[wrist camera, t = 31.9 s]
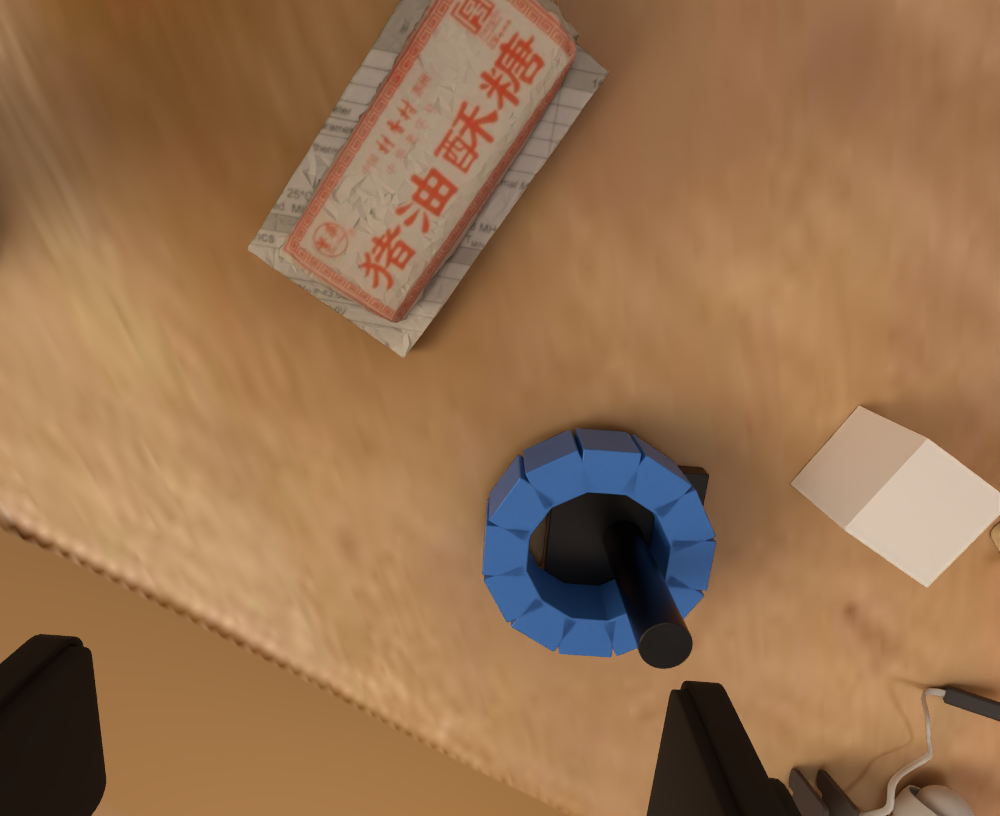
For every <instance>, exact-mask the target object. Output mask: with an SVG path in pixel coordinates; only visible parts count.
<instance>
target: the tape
mask: <svg viewBox="0 0 1000 816" xmlns="http://www.w3.org/2000/svg"><path fill="white" fill-rule="evenodd" d="M523 455H524V457H522V456H521V455H517V457H516V458H515V459H514V461H513V462H512V463H511V465H510V466H509V468H508V469H507V470H506V472H505V473H504V474H503V476H502V477H501V478H500V480H499V481H498V483H497V484H496V485H495V487H494V488H493V489H492V491H491V492H490V498H488V499H487V511H486V524H485V537H484V553H483V571H482V574H483V575H484V582H485V584H486V585H487V587H488V589H489V591H490V593H491V595H492V596H493V598H494V600H495V602H496V604H497V605H498V607H499V609H500V611H501V613H502V615H503V616H504V618H505V620H506V622H510V621H511V626H512V627H513V628H514V629H516V630H518V631H519V632H521V633H523V634H525V635H526V636H528V637H530V638H531V639H533V640H535V641H536V642H538V643H540V644H541V645H543V646H545V647H546V648H548V649H550V650H551V651H555V650H556V649H557V647H558V649H559V654H569V655H584V656H599V657H611V656H612V649H613V650H614V652H615V654H616V655H617V656H618V655H621V654H624V653H626V652H629V651H631V650H634V649H636V648H638V647H637V644H636V641H635V638H634V635H633V632H632V629H631V626H630V623H629V620H628V617H627V614H626V611H625V608H624V605H623V602H622V599H621V596H620V593H619V590H618V587H617V584H616V581H615V579H614V580H612V581H609V582H607V583H604V584H602V585H600V586H596V585H582V584H567V583H564V582H562V581H560V580H559V579H557V578H555V577H554V576H552V575H551V574H549V573H547V572H546V571H544V570H543V569H541V568H539V567H538V565H537V563H536V561H535V559H534V557H533V555H532V553H531V551H530V550H529V542H530V535H531V534H532V533H533V532H534V530H535V529H536V528H537V526H538V525H539V524H540V523H541V521H542V520H543V519H544V517H545V516H546V515H547V513H548V512H549V511H550V510H551V508H552V507H555V506H557V505H559V504H561V503H564V502H566V501H568V500H571V499H573V498H575V497H578V496H580V495H582V494H584V493H587V492H591V493H605V494H619V495H627V496H628V497H630V498H631V499H633V500H634V501H636V502H638V503H639V504H641V505H642V506H644V507H645V508H647V509H648V510H650V511H651V512H653V515H654V517H655V519H654V526H653V532H652V538H651V545H650V550H651V553H652V555H653V557H654V559H655V561H656V563H657V565H658V567H659V569H660V572H661V574H662V576H663V578H664V580H665V582H666V584H667V586H668V588H669V591H670V593H671V595H672V597H673V599H674V601H675V603H676V605H677V607H678V609H679V612H680V614H681V616H682V618H683V619H684V618H685V617H686V616H687V614H688V613H689V612H690V611H691V610H692V609H693V608H694V606H695V605H696V604H697V603H698V602H699V601H700V600H701V599H702V597H703V596H704V594H703V593H702V591H701V590H707V587H708V582H709V576H710V571H711V566H712V561H713V555H714V550H715V545H716V541H715V540H714V538H713V537H715V533H714V531H713V529H712V526H711V524H710V522H709V519H708V517H707V515H706V512H705V510H704V508H703V505H702V503H701V500H700V498H699V496H698V493H697V491H696V489H695V488H694V487H693V486H692V484H691V483H690V482H689V480H688V479H687V478H686V476H685V475H684V474H683V472H682V471H681V470H680V469H679V467H678V466H677V465H676V464H675V463H674V461H672V460H671V459H670V458H668V457H667V456H665V455H664V454H662V453H661V452H659V451H658V450H656V449H655V448H653V447H652V446H650V445H649V444H647V443H646V442H644V441H643V440H641V439H640V438H639V437H637V436H636V435H634V434H633V435H632V436H631V437H630V435H629V434H628V432H621V431H607V430H593V429H580V428H576V430H575V438H574V436H573V434H572V432H571V430H567V431H565V432H563V433H561V434H559V435H556V436H554V437H552V438H550V439H547V440H545V441H543V442H541V443H539V444H536V445H534V446H532V447H530V448H527V449H525V450H524V451H523Z"/></svg>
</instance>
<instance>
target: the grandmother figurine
mask: <svg viewBox="0 0 1000 816" xmlns="http://www.w3.org/2000/svg"><path fill="white" fill-rule="evenodd" d="M991 538H992V540H993V542H994V543H995V545H996V547H997V549H998V550H999V552H1000V523H998V524H997V525H996V526H995V527H994V528H993V529H992V531H991Z"/></svg>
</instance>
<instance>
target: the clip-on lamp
mask: <svg viewBox="0 0 1000 816" xmlns="http://www.w3.org/2000/svg"><path fill="white" fill-rule="evenodd" d="M926 695H937V696H941V697H943V700H944V702H945V703H947V704H950V705H953V706H956V707H959V708H962V709H964V710H967V711H970V712H973V713H976V714H979V715H982V716H985V717H988V718H991V719H994V720H997V721H1000V702H997V701H994V700H991V699H988V698H985V697H982V696H979V695H976V694H973V693H970V692H967V691H964V690H961V689H958V688H954V687H951V686H946V688H945V690H942V689H938V688H927V689H926V690H924V691H923V693H922V697H921V701H922V707H923V711H924V716H925V726H926V739H927V743H928V747H929V749H928V751H927V752H926V753H925V754H923V755H922V756H920V757H919V758H917V759H915V760H914V761H912V762H910V763H909V764H907V765H905V766H904V767H902V768H901V769H900V770H898V771H897V772H896V773H895V774H894V775H893V776H892V777H891V779H890V780H889V783H888V786H887V802H886V804H885V806H884V807H882V808H880V809H876V810H871V811H865V812H861V813H859V810H858V808H857V807H856V805H855V804H854V803H853V802H852V801H851V800H850V799H849V797H848V796H847V795H846V794H845V793H844V792H843V790H842V789H841V788H840V787H839V786H838V785H837V783H836V782H835V781H834V780H833V779H832V778H831V776H830V775H829V774H828V773H827V772H826V771H819V772H818V777H817V787H818V789H819V790H820V792H821V793H822V799H821V798H820V796H819V795H818V794H817V793H816V791H815V790H814V789H813V787H812V786H811V785H810V784H809V782H808V781H807V780H806V779H805V777H804V776H803V775H802V774H801V772H800V771H798V770H794V769H793V770H792V771H791V774H790V778H789V787H790V789H791V790H792V791H793V796H792V798H793V800H794V802H795V804H796V806H797V808H798V810H799V811H800V813H801V815H802V816H886V815H888V814H890V813H891V812H892V810H893V816H975V815H974V812H973V810H972V808H971V807H970V805H969V804H968V802H967V801H966V800H965V799H964V798H963V797H962V796H961V795H960V794H958V793H957V792H956V791H954V790H952V789H950V788H948V787H945V786H941V785H929V786H926V787H924V788H922V789H921V788H919V787H916V786H913V785H908V786H907V787H905V788H904V789H903V790H902V791H901V792H900V793H899V794H898V796H897V797H896V799H895V789H896V785H897V783H898V782H899V780H900V779H901V778H902V777H903V776H904V775H906V774H907V773H909V772H910V771H912V770H914V769H915V768H917V767H919V766H921V765H922V764H924V763H926V762H927V761H929V760H930V759H931V758H932V756H933V748H932V743H931V727H930V717H929V711H928V707H927V702H926Z"/></svg>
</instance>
